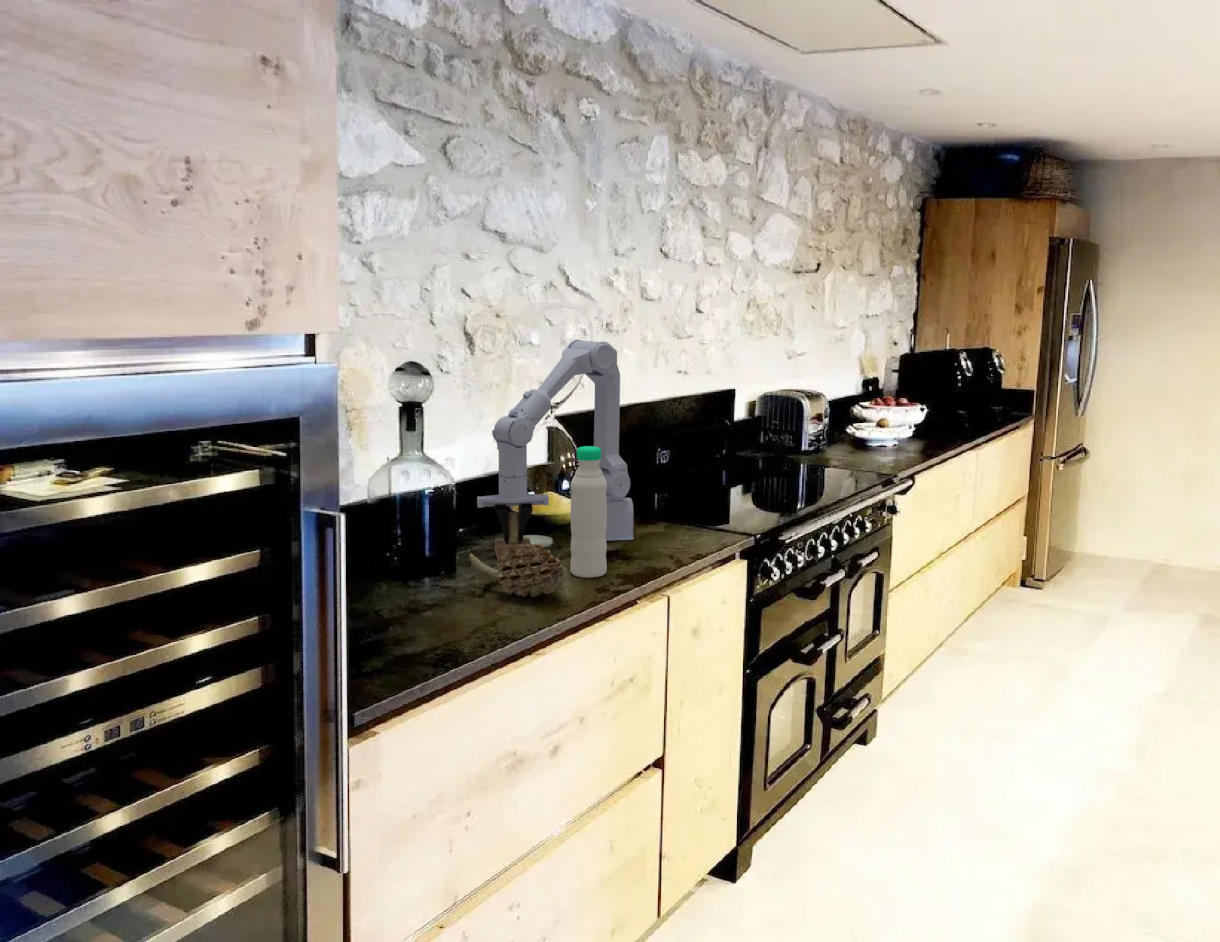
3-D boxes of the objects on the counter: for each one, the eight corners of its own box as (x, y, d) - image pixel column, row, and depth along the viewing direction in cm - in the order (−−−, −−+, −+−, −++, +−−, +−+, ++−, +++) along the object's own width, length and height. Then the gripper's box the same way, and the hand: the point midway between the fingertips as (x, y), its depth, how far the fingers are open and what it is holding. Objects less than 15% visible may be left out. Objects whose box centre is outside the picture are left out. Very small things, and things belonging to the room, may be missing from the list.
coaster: (549, 537, 241) (549, 534, 241) (555, 547, 232) (555, 544, 232) (509, 539, 239) (509, 535, 239) (513, 549, 230) (513, 545, 230)
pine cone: (577, 596, 197) (577, 543, 195) (549, 610, 189) (548, 554, 187) (479, 579, 208) (478, 528, 206) (447, 591, 200) (446, 538, 198)
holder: (528, 551, 229) (528, 537, 229) (532, 559, 222) (532, 545, 222) (495, 552, 228) (495, 538, 227) (498, 561, 221) (497, 546, 220)
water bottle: (602, 579, 208) (603, 450, 204) (566, 577, 209) (566, 449, 205) (609, 570, 215) (610, 445, 210) (575, 568, 216) (575, 443, 212)
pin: (518, 554, 226) (518, 512, 225) (520, 557, 224) (519, 514, 223) (507, 554, 226) (506, 512, 224) (508, 557, 224) (507, 515, 222)
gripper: (545, 470, 227) (545, 534, 230) (475, 472, 225) (476, 536, 227) (550, 476, 221) (550, 542, 223) (478, 479, 218) (479, 544, 220)
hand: (513, 540), depth 224 cm, fingers closed on pin, 2 cm apart
